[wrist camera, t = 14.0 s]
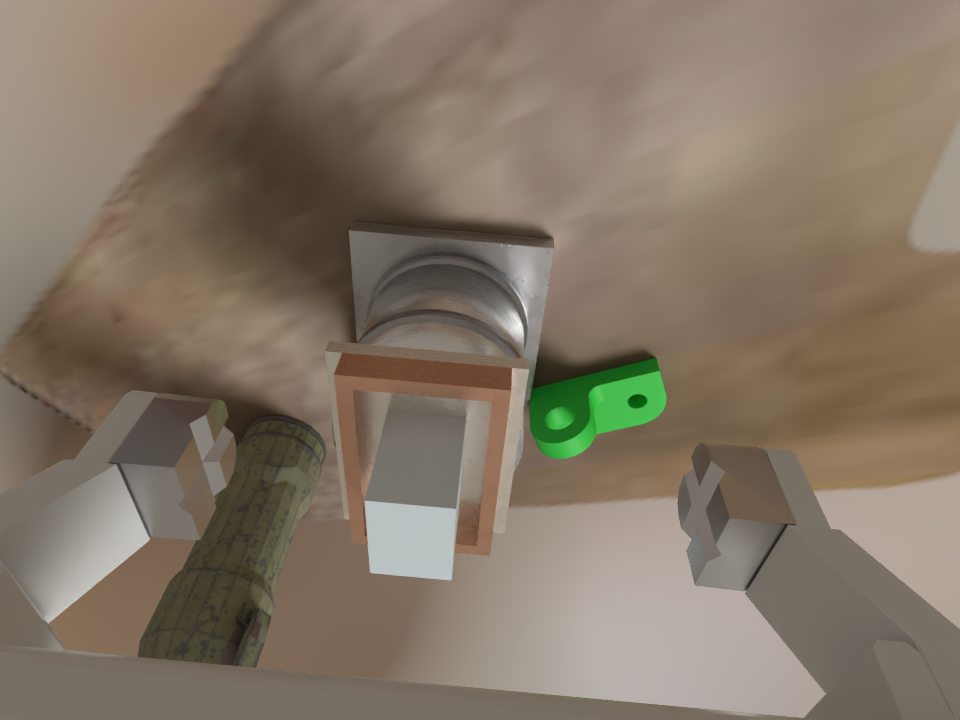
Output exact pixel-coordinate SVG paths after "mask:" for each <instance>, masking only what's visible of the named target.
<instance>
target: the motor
mask: <svg viewBox="0 0 960 720" xmlns="http://www.w3.org/2000/svg"><path fill="white" fill-rule="evenodd" d="M349 241H350V254H351V268H352V281H353V295H354V308H355V322H356V335H357V343H346V342H335V341H329V343H328V345H327V348H326V350H325V355H326V364H327V372H328V381H329V389H330V398H331V407H332V415H333V422H332V435H333V440H334V444H335V446H336V450H337V458H338V467H339V476H340V484H341V493H342V501H343V510H344V519H349V521H350V530H351V539H352V543H357V544H368V539H367V526H366V514H365V502H364V500H365V496H366V493H367V489H368V485H369V481H370V477H371V473H372V469H373V465H374V461H375V457H376V454H377V450H378V446H379V442H380V438H381V434H382V430H383V426H384V422H385V418H386V415H387V412H396V413H407V414H418V415H429V416H440V417H451V418H462V419H466V427H465V441H464V455H463V468H462V482H461V494H460V504H459V513H458V522H457V532H456V541H455V551H454V552H456V553H467V554H478V555H488V556H489V555H490V549H491V542H492V534H493V533H504V532H505V525H506V518H507V512H508V506H509V499H510V492H511V486H512V479H513V472H514V471H515V469H516V468H517V466H518V464H519V462H520V460H521V456H522V452H523V413H524V411H525V407H526V403H527V400H530V398H531V392H532V386H533V380H534V373H535V367H536V361H537V355H538V348H539V342H540V336H541V329H542V323H543V317H544V311H545V304H546V298H547V292H548V285H549V279H550V273H551V267H552V260H553V254H554V239H551V238H540V237H528V236H517V235H506V234H494V233H483V232H472V231H460V230H449V229H438V228H426V227H415V226H404V225H392V224H381V223H370V222H358V221H353V223H352V225H351V227H350V229H349Z"/></svg>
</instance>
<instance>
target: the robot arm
mask: <svg viewBox="0 0 960 720" xmlns="http://www.w3.org/2000/svg"><path fill="white" fill-rule="evenodd" d="M228 417H229V415H228V411H227V408H226V405H225V402H224V401H221V400H219V399H211V398H203V397H194V396H185V395H176V394H168V393H154V392H145V391H137V390H132V391H131V392H129V393H127V394H125V395H124V396H123V397H122V398H121V399H120V401H119V402H118V403H117V405H116V406H115V407H114V409H113V410H112V411H111V412H110V414H109V415H108V416H107V418H106V419H105V420H104V422H103V423H102V424H101V425H100V427H99V428H98V429H97V431H96V432H95V433H94V434H93V436H92V437H91V439H90V440H89V441H88V442H87V444H86V445H85V446H84V448H83V449H82V450H81V451H80V453H79V454H78V455H77V457H76V458H75V459H74V460H63V461H61V462H59V463H57V464H55V465H54V466H51V467H50V468H48V469H46V470H44V471H42V472H40V473H38V474H37V475H35V476H33V477H31V478H29V479H27V480H25V481H24V482H22V483H20V484H18V485H16V486H14V487H12V488H10V489H8V490H7V491H5V492H3V493H1V494H0V720H960V629H959V628H958V627H956V626H955V625H954V624H953V623H951V622H950V621H949V620H948V619H947V618H946V617H944V616H943V615H942V614H941V613H940V612H938V611H937V610H936V609H935V608H934V607H932V606H931V605H930V604H929V603H927V602H926V601H925V600H924V599H923V598H922V597H920V596H919V595H918V594H917V593H915V592H914V591H913V590H912V589H911V588H909V587H908V586H907V585H906V584H905V583H903V582H902V581H901V580H900V579H898V578H897V577H896V576H895V575H894V574H893V573H891V572H890V571H889V570H888V569H886V568H885V567H884V566H883V565H882V564H881V563H879V562H878V561H877V560H876V559H874V558H873V557H872V556H871V555H870V554H868V553H867V552H866V551H865V550H864V549H862V548H861V547H860V546H859V545H857V544H856V543H855V542H854V541H853V540H852V539H850V538H849V537H848V536H847V535H846V534H844V533H843V532H842V531H841V530H836V529H831V528H830V526H829V524H828V522H827V520H826V518H825V515H824V513H823V511H822V509H821V507H820V505H819V503H818V500H817V498H816V496H815V494H814V492H813V490H812V488H811V486H810V483H809V481H808V479H807V477H806V475H805V473H804V471H803V468H802V466H801V464H800V462H799V460H798V458H797V456H796V454H795V453H794V452H793V451H791V450H789V449H776V448H764V447H760V448H758V447H750V446H738V445H726V444H713V443H700V444H699V445H698V446H697V447H696V448H695V451H694V453H693V455H692V457H691V458H692V462H693V466H694V469H693V470H692V471H690V472H688V473H687V474H685V475H684V477H683V480H682V482H681V485H680V488H679V496H678V513H679V519H680V524H681V528H682V529H683V530H684V531H685V532H686V533H687V534H688V535H689V537H691V539H692V540H691V542H690V544H689V546H688V549H687V554H688V559H689V563H690V567H691V571H692V575H693V579H694V583H695V585H696V586H705V587H714V588H722V589H731V590H739V591H746V593H745V594H746V595H747V597H748V598H749V599H750V600H751V602H752V603H753V604H754V605H755V607H756V608H757V609H758V610H759V611H760V613H761V614H762V615H763V616H764V618H765V619H766V620H767V621H768V623H769V624H770V625H771V626H772V627H773V629H774V630H775V631H776V632H777V633H778V635H779V636H780V637H781V638H782V640H783V641H784V642H785V643H786V645H787V646H788V647H789V648H790V650H791V651H792V652H793V653H794V655H795V656H796V657H797V658H798V660H799V661H800V662H801V663H802V665H803V666H804V667H805V668H806V669H807V671H808V672H809V673H810V674H811V676H812V677H813V678H814V679H815V681H816V682H817V683H818V684H819V685H820V687H821V688H822V689H823V690H824V692H825V693H826V695H825V696H824V697H823V698H822V699H821V700H820V701H819V702H818V703H817V704H816V705H815V706H814V707H813V708H812V709H811V711H810V712H809V713H808V714H807V715H806V717H805V718H797V717H786V716H774V715H763V714H753V713H742V712H731V711H720V710H709V709H698V708H688V707H676V706H666V705H655V704H643V703H634V702H623V701H612V700H601V699H590V698H580V697H569V696H557V695H547V694H536V693H526V692H515V691H503V690H493V689H483V688H472V687H461V686H460V687H459V686H449V685H439V684H428V683H417V682H406V681H395V680H384V679H373V678H362V677H351V676H339V675H329V674H318V673H308V672H297V671H285V670H275V669H264V668H253V667H242V666H231V665H221V664H210V663H199V662H188V661H177V660H166V659H155V658H144V657H133V656H122V655H112V654H100V653H90V652H79V651H68V650H65V648H64V645H63V643H62V642H61V640H60V639H59V638H58V636H57V635H56V634H55V632H54V631H53V629H52V628H51V627H50V625H49V624H48V623H49V622H50V621H51V620H53V619H54V618H55V617H57V616H58V615H59V614H60V613H61V612H63V611H64V610H65V609H66V608H67V607H69V606H70V605H71V604H72V603H74V602H75V601H76V600H77V599H78V598H80V597H81V596H82V595H83V594H84V593H86V592H87V591H88V590H89V589H91V588H92V587H93V586H94V585H95V584H97V583H98V582H99V581H100V580H102V579H103V578H104V577H105V576H106V575H108V574H109V573H110V572H111V571H112V570H114V569H115V568H116V567H117V566H119V565H120V564H121V563H122V562H124V561H125V560H126V559H127V558H128V557H130V556H131V555H132V554H133V553H134V552H136V551H137V550H138V549H139V548H141V547H142V546H143V545H144V544H145V543H147V542H148V541H149V540H150V538H149V537H159V538H176V539H190V540H201V538H202V536H203V534H204V532H205V530H206V528H207V526H208V524H209V522H210V520H211V518H212V516H213V514H214V512H215V510H216V504H215V501H214V498H213V496H214V495H215V494H217V493H218V492H220V491H221V490H223V489H224V488H226V487H227V485H228V483H229V481H230V479H231V476H232V474H233V471H234V466H235V461H236V442H235V438H234V434H233V433H232V432H230V431H229V430H228V429H227V428H226V427H225V426H224V424H225V422H226V420H227V419H228Z"/></svg>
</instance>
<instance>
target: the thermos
mask: <svg viewBox="0 0 960 720" xmlns="http://www.w3.org/2000/svg"><path fill="white" fill-rule="evenodd" d="M325 455H326V447H325V443H324V441H323V439H322V438H321V436H320V435H319V434H318V433H317V432H316V431H315V430H314V429H313V428H312V427H311V426H309V425H307V424H305V423H303V422H302V421H300V420H297V419H293V418H290V417H287V416H274V415H273V416H267V417H261V418H259V419H257V420H256V421H254V422H252V423H251V424H250V426H249V427H248V428H247V430H246V432H245V435H244V437H243V439H242V440H241V441H240V443H239V444H238V445H237V446H236V461H235V466H234V471H233V474H232V476H231V479H230V481H229V483H228V485H227V487H226V488H224V489H223V490H221V491H220V494H219V496H218V498H217V500H216V502H215V504H216V510H215V512H214V514H213V516H212V518H211V520H210V522H209V524H208V526H207V528H206V530H205V532H204V534H203V536H202V538H201V540H196V543H195V545H194V547H193V549H192V551H191V553H190V555H189V557H188V559H187V561H186V563H185V565H184V567H183V569H182V570H181V571H180V572H179V573H178V574H176V575H175V576H174V578H173V579H172V580H171V581H170V582H169V584H168V586H167V588H166V590H165V592H164V594H163V596H162V598H161V600H160V602H159V604H158V606H157V608H156V610H155V612H154V614H153V616H152V618H151V620H150V622H149V624H148V626H147V628H146V630H145V632H144V634H143V636H142V638H141V640H140V646H139V652H138V657H144V658H155V659H166V660H177V661H188V662H199V663H210V664H221V665H231V666H242V667H253V668H256V666H257V663H258V660H259V657H260V654H261V651H262V648H263V645H264V642H265V639H266V634H267V631H268V627H269V624H270V620H271V615H272V613H273V610H274V600H273V593H274V590H275V587H276V584H277V582H278V578H279V576H280V573H281V570H282V567H283V564H284V561H285V558H286V556H287V553H288V550H289V547H290V544H291V541H292V538H293V535H294V533H295V530H296V527H297V524H298V521H299V519H300V518H301V517H302V516H303V515H304V514H305V513H306V512H307V510H308V509H309V506H310V503H311V500H312V497H313V495H314V492H315V489H316V486H317V483H318V480H319V477H320V474H321V465H322V463H323V461H324V458H325Z"/></svg>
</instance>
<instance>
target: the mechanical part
mask: <svg viewBox="0 0 960 720" xmlns="http://www.w3.org/2000/svg"><path fill="white" fill-rule="evenodd" d="M636 394H639V395H636ZM666 400H667V398H666V393H665V389H664V385H663V382H662V378H661V374H660V370H659V367H658V363H657V359H656V358H654V359H650V360H646V361H642V362H638V363H634V364H630V365H625V366H621V367H617V368H613V369H609V370H605V371H601V372H597V373H593V374H589V375H585V376H581V377H577V378H572V379H568V380H564V381H560V382H556V383H552V384H548V385H544V386H540V387H536V388H532V392H531V398H530V429H531V432H532V435H533V437H534V439H535V441H536V443H537V445H538V448H539V449H540V451H541V452H542V453H543V454H545V455H546V456H549V457H551V458H557V459H563V458H569V457H573V456H575V455H577V454H579V453H581V452H583V451H584V450H585V449H586V448H588V447H589V446H590V444H591V443H592V442H593V440H594V438H595V435H596V434H599V433H604V432H608V431H613V430H617V429H622V428H627V427H631V426H636V425H640V424H644V423H647V422H649V421H651V420H653V419H655V418H656V417H657V416H658V415H660V413H661V412H662V411H663V410H664V408H665V405H666Z"/></svg>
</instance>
